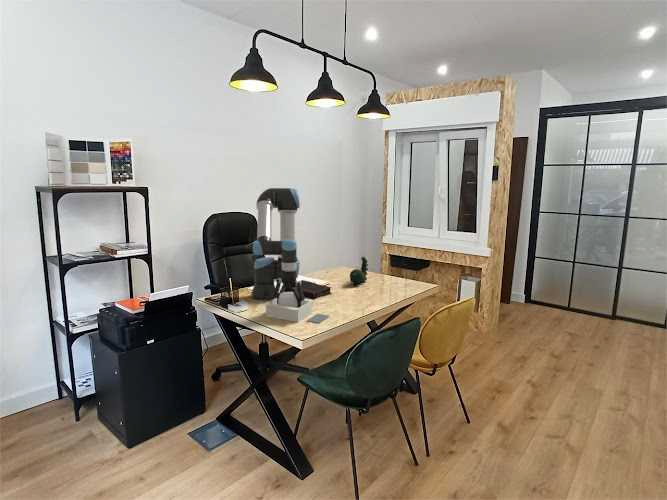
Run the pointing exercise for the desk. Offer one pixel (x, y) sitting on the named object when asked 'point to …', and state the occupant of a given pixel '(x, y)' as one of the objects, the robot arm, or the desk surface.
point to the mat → (318, 318)
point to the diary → (312, 290)
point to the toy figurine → (359, 273)
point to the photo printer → (287, 299)
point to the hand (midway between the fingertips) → (288, 311)
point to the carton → (288, 310)
